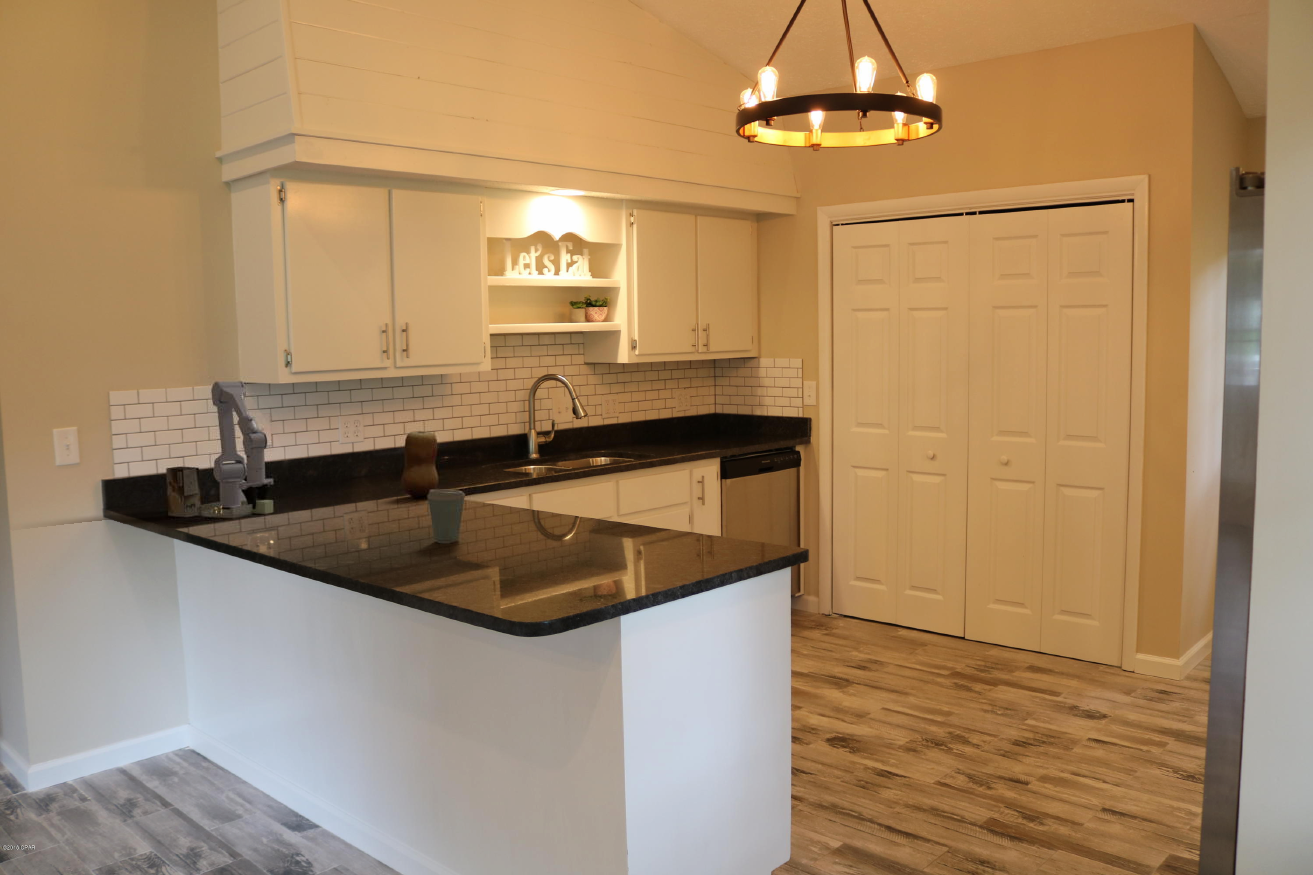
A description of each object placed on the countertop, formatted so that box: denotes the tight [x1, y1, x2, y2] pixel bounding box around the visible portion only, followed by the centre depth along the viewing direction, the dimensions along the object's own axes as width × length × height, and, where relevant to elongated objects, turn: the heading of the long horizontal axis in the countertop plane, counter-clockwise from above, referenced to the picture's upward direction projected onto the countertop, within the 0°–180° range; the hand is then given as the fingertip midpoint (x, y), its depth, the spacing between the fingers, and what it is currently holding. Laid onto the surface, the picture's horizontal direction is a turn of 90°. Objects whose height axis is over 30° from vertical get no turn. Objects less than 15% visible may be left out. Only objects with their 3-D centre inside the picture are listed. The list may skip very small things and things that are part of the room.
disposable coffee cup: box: [427, 489, 466, 544], centre depth 287 cm, size 11×11×15 cm
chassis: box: [198, 501, 254, 519], centre depth 336 cm, size 14×9×4 cm, turn 71°
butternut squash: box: [400, 430, 439, 499], centre depth 377 cm, size 14×13×25 cm
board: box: [241, 499, 274, 515], centre depth 343 cm, size 10×4×4 cm, turn 71°
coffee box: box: [165, 466, 202, 518], centre depth 335 cm, size 9×6×16 cm
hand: (257, 507), depth 343 cm, fingers closed on board, 4 cm apart
